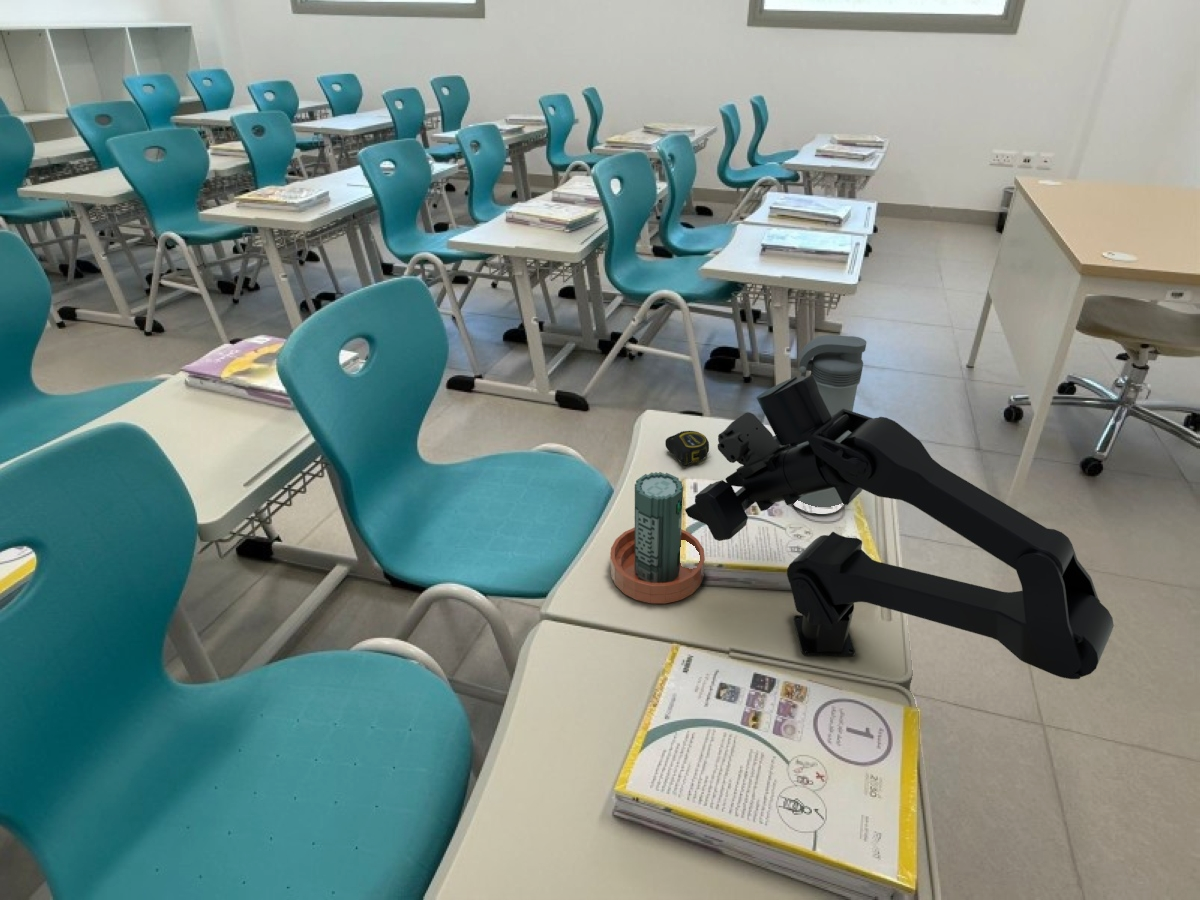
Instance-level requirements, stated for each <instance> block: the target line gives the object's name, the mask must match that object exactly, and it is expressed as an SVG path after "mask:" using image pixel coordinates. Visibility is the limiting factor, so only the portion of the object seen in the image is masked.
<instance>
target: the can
mask: <svg viewBox="0 0 1200 900" xmlns="http://www.w3.org/2000/svg"><path fill="white" fill-rule="evenodd" d="M683 497H684V486H683V481H681V480H680V478H679V477H677V476H675V475H673V474H670V473H668V472H666V473H664V472H661V471H659V472H656V471H655V472H650V473H648V474H647V473H645V474H644V475H642V476H641V477H639V478H638V479H636V480H635V483H634V527H635V572H636V575H637V576H638V579H640V580H642V581H646V582H651V583H667V582H672V581H673V580H675V579H676V578H677V577H678V573H679V568H680V546H681V529H682V523H683V520H682V519H683V499H684V498H683Z"/></svg>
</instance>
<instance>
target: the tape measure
mask: <svg viewBox="0 0 1200 900" xmlns="http://www.w3.org/2000/svg"><path fill="white" fill-rule="evenodd" d="M664 441H665V443H664V444H665V448H666V449H667V450H668V452H670V453H671V454H672V455H673V456H674V457H675V458H676V459H677V461H678V462H679V463H680V464H681V465H682V466H684V467H685V466H688V465H690V464H692V463H693V464H694V463H699V462H701V461H703V460H704V459H706V458H707V457H708V454H709V451H710V443H709V440H708V438H707V436H706V435H704V434H703V433H701V432H699V431H697V430H696V431H695V430H684V431H680V432H678V433H676V434H673V435H671V436H668V437H667V438H666V439H665V440H664Z"/></svg>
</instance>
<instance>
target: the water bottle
mask: <svg viewBox="0 0 1200 900" xmlns="http://www.w3.org/2000/svg"><path fill="white" fill-rule="evenodd" d="M867 343H868V342H867V340H865V338H862V337H860V336H854V335H853V336H852V335H838V334H823V335H819V336H817V337H814V338H812V339H811V340H809V341H808V342H807V343H806V344H805V345H804V346H803V348H802V350H801V352H800V356H799V364H798V372H799V373H800V377H802V376H804V377H807V372H810V375H812V376H813V377H814V379H815V381H816V383H817V386H818V390H819V393H820V395H821V397H822V399H823V401H824V403H825V405H826V407H827V409H828V411H829V413H830V415H834V414H836V413H837V412H839V411H840V410H841V409H846V410H849V411H852V412H854V406H855V401H856V396H857V391H858V385H859V384H860V383H861V378H862V373H863V367H864V361H863V353H864V352H865V351H866V347H867ZM851 433H852V432H850V431H849V430H848V431H847V432H846V433H845V434H844V435H842V436H841V437H840V438H839V439H838V440H836V442H838V443H840V442H841V441H842V440H844V439H845V438H846V437H847V436H848V435H849V434H851ZM807 443H809V442H808V441H806V442H804V443H801V444H799V445H797V446H801V445H804V444H807ZM798 501H801V502H803V503H805V504H808V505H811V506H815V507H817V506H818V507H831V506H835V505H839V504H841V503H842V501H841V499H840V497H839V495H838V493H837V491H836V489H835V488H834V489H830V490H825V491H821V492H817V493H813V494H809V495H805V496H802V497H800V498H799V499H798Z"/></svg>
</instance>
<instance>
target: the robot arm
mask: <svg viewBox="0 0 1200 900" xmlns="http://www.w3.org/2000/svg"><path fill="white" fill-rule="evenodd" d="M756 400H757V402H758V404H759V406H760V408H761V410H762V412H763V414H764V416H765V418H766V420H767V422H768V423H769V426H770V428H771V430H772V431H773V433H772V432H771V431H770V430H769V429H768V428H767V427H766V425H764V424H763V422H761V420H760V419H759V418H758V417H757V416H756V415H755V414H754V413H752V412H748V411H747V412H745V413H743V414H742V415H740V416H739V417H737V418H736V419H734V420H733V421H731V423H730V424H728V426H727V427H726V428H725V429H724V430H723V431H722V432H720V433H719V434H718V435H717V441H718V444H717V450H718V452H719V453H721V454H722V456H723V457H724V458H725V460H727V461H728V462H729V463H730V464H731V463H732V464H734V463H736V462H737V463H738V464H739V465H740V466H739V467H738V468H736V471H734V472H733V473H731V474H729V475H728V476H727V477H725V480H724V479H721V480H717V481H715V482H712V483H709V484H708V485H707V486H705V487H704V488H703V489H702V490H700V491H699V492H698V493H697V494H695V496H694V504H691V505H690V506H688V507H686V508H685V509H684V511H685V513H686V515H687V517H689V518H690V519H693V520H695V521H697V522H699V523H702V524H704V525H706V527H707V528H708V530H709V532H710V534H711V535H712V537H713V539H714V540H716V541H717V542H722V541H726V540H731V539H732V538H733V537H734V536H735V535H737V534H738V533H739V532H740V531H741V530H742V529H744V528H745V527H746V526H747V524H748V519H749V516H748V514H747V512H746V511H747V510H748V509H749V508H750V507H751V506H753V504H755V503H756V505H757V507H758V509H759V511H760V512H763V511H768V510H769V509H770V508H771V507H773V505H775V503H780V502H784V503H785V505H786V506H790V505H792V504H794V503H795V502H796V501H797V500H798V499H799V498H800V497H802V496H805V495H809V494H813V493H817V492H821V491H825V490H830V489H834V488H835V489H836V491H837V493H838V495H839V497H840V499H841V501H842V503H843V504H844V505H845V506H848V505H849V504H850V503H852V501H853V500H855V499H856V498H857V496H858V495H860V493H862V491H865V492H867V493H870V494H871V495H874V496H876V497H879V498H885V499H891V500H898V501H901V502H902V501H903V502H904V503H907V504H909V505H911V506H913V507H915V508H916V509H918V510H920V511H921V512H923V513H924V514H926V515H928V516H929V517H930V518H932V519H934V521H937V522H939V523H941V524H942V525H943V526H945V527H946V528H948V529H950V530H952V531H953V532H954V533H956V534H957V535H959V536H961V537H962V538H964V539H965V540H967V541H969V542H970V543H972V544H974V545H975V546H977V547H979V548H980V549H982V550H983V551H985V552H986V553H988V554H990V555H991V556H993V557H994V558H996V559H997V560H999V561H1000V562H1002V563H1004V564H1006V565H1007V566H1009V567H1010V568H1012V569H1014V570H1015V571H1016V573H1017V577H1018V579H1019V582H1020V585H1021V590H1017V591H1012V592H1011V591H1010V592H1009V591H1008V592H1007V591H1001V590H997V589H994V588H989V587H985V586H981V585H976V584H972V583H969V582H964V581H960V580H956V579H952V578H949V577H943V576H939V575H935V574H931V573H927V572H923V571H919V570H914V569H910V568H907V567H902V566H897V565H893V564H890V563H885V562H880V561H876V560H874V559H873V558H872V557H871V556H869V554H867V553H866V552H865V551H864V550H863V547H862V546H863V541H862V539H860V538H858V537H847V536H843V535H840V534H838V533H837V532H835V531H832V532H831V533H830V534H823V535H819V536H818V537H816V538H815V539H814V540H813V541H811V543H809V545H807V547H806V548H804V549H803V551H802V552H801V553H799V554H798V556H796V558H794V559H793V560H792V562H790V563H789V565H788V567H787V568H786V576H787V580H788V583H789V584H790V590H791V593H792V598H793V602H794V606H795V610H796V612H797V613H799V614H796V615H794V616H793V623H794V628H795V631H796V635H797V639H798V640H797V641H798V643H799V647H800V651H801V654H802V655H804V656H810V657H811V656H813V657H815V656H816V657H827V656H828V657H853V656H855V654H856V650H855V646H854V644H853V641H852V637H851V635H850V627H851V623H852V619H853V613H854V610H855V603H866V604H870V605H874V606H878V607H881V608H884V609H888V610H892V611H895V612H899V613H902V614H906V615H909V616H913V617H916V618H919V619H923V620H927V621H930V622H934V623H937V624H940V625H941V624H942V625H944V626H948V627H951V628H955V629H959V630H962V631H965V632H970V633H973V634H976V635H979V636H983V637H986V638H990V639H993V640H996V641H998V643H1000V644H1001V645H1003V647H1005V649H1007V650H1008V651H1009V652H1010V653H1011V654H1012V655H1014V656H1015V657H1016V658H1017V659H1018V660H1020V661H1021V662H1022V663H1024V664H1027V665H1029V666H1032V667H1035V668H1037V669H1039V670H1042V671H1043V672H1046V673H1049V674H1051V675H1053V676H1056V677H1058V678H1063V679H1067V680H1080V679H1081V678H1084V677H1086V676H1089V675H1091V674H1092V673H1093V672H1094V671H1096V670H1097V667H1098V665H1099V663H1100V660H1101V658H1102V655H1103V654H1104V652H1105V649H1106V647H1107V644H1108V642H1109V639H1110V637H1111V635H1112V632H1113V629H1114V626H1115V625H1114V620H1113V619H1114V618H1113V616H1112V615H1111V613H1110V611H1109V609H1108V608H1107V607H1105V605H1103V604H1102V602H1101V600H1100V599H1099V597H1098V594H1097V591H1096V587H1095V585H1094V582H1093V579H1092V577H1091V575H1090V574H1089V573H1088V571H1087V570H1086V569H1085V567H1084V566H1083V565H1082V563H1081V562H1080V561H1079V560H1078V558H1077V555H1076V551H1075V548H1074V546H1073V543H1072V541H1071V540H1070V538H1069V537H1068V536H1067V535H1066V534H1064V533H1063V532H1062V531H1060V530H1057V529H1054V528H1047V527H1045V526H1044V525H1042V524H1040V523H1039V522H1037V521H1035V520H1033V519H1032V518H1031V517H1029V516H1028V515H1025V514H1024V513H1022V512H1020V511H1018V510H1017V509H1015V508H1013V507H1012V506H1010V505H1008V504H1006V503H1005V502H1003V501H1002V500H1000V499H998V498H997V497H995V496H993V495H991V494H989V493H988V492H986V491H984V490H983V489H981V488H979V487H977V486H976V485H975V484H973V483H971V482H969V481H967V480H966V479H965V478H962V477H961V476H959V475H957V474H956V473H954V472H952V471H951V470H948V469H947V468H945V467H944V466H942V465H941V464H940V463H938V462H937V461H936V460H935V459H934V458H932V456H931V455H930V453H929V452H928V449H926V447H925V446H924V444H923V442H922V441H921V440H920V439H918V438H917V437H916V436H915V435H914V434H912V433H911V432H909V431H908V430H907V429H906V428H905V427H903V426H902V425H901V424H900V423H898V422H897V421H896V420H893V419H890V418H889V417H886V416H885V417H884V416H879V417H871V416H867V415H864V414H861V413H858V412H855V411H853V412H852V411H849V410H846V409H841V410H840V411H839V412H837V413H836V414H834V415H830V413H829V411H828V409H827V407H826V405H825V403H824V401H823V399H822V397H821V395H820V393H819V390H818V386H817V383H816V381H815V379H814V377H813V376H812V375H811V374H810V375H806V377H804V376H802V377H801V376H799V377H797V376H793V377H791V378H789V379H786V380H784V381H782V382H780V383H778V384H776V385H774V386H772V387H770V388H769V389H767V390H765V391H763V392H762V393H760V394H758V396H757V397H756ZM848 430H849V431H850V432H852V433H851V434H849V435H848V436H847V437H846V438H845V439H844V440H842V441H841V442H840V443H838V442H836V440H838V439H839V438H840V437H841V436H842V435H844V434H845V433H846V432H847V431H848ZM773 434H774V435H773ZM806 441H808V442H809V443H807V444H804V445H801V446H797V445H799V444H801V443H804V442H806ZM733 487H737V488H739V489H738V490H737V491H735V490H734V488H733Z"/></svg>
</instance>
